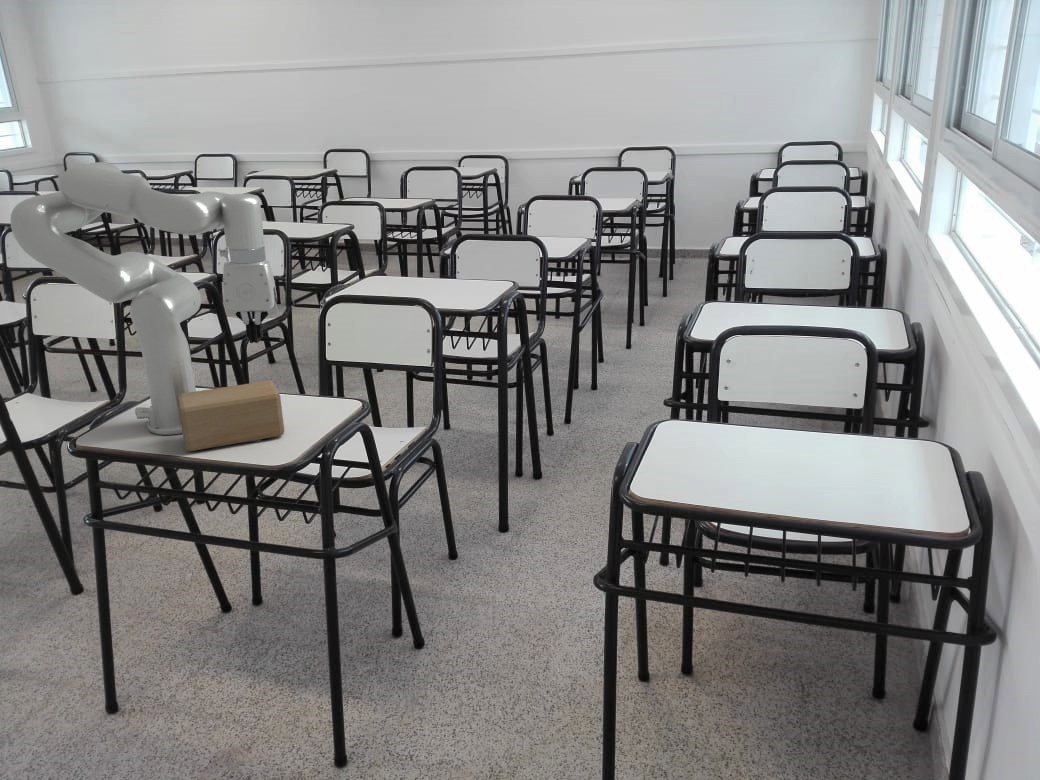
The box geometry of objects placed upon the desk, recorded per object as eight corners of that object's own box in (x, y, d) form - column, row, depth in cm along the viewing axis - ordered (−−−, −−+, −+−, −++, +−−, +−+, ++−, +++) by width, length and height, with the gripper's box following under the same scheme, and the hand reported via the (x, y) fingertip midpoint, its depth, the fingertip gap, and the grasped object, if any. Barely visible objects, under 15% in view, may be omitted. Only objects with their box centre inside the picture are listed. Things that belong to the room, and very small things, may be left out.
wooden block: (278, 420, 189) (183, 436, 181) (273, 378, 186) (176, 392, 178) (285, 436, 180) (186, 453, 173) (280, 392, 177) (178, 408, 169)
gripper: (203, 259, 170) (214, 346, 176) (278, 259, 170) (286, 346, 177) (215, 252, 177) (225, 336, 183) (287, 252, 177) (294, 336, 184)
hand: (255, 341), depth 180 cm, fingers closed
